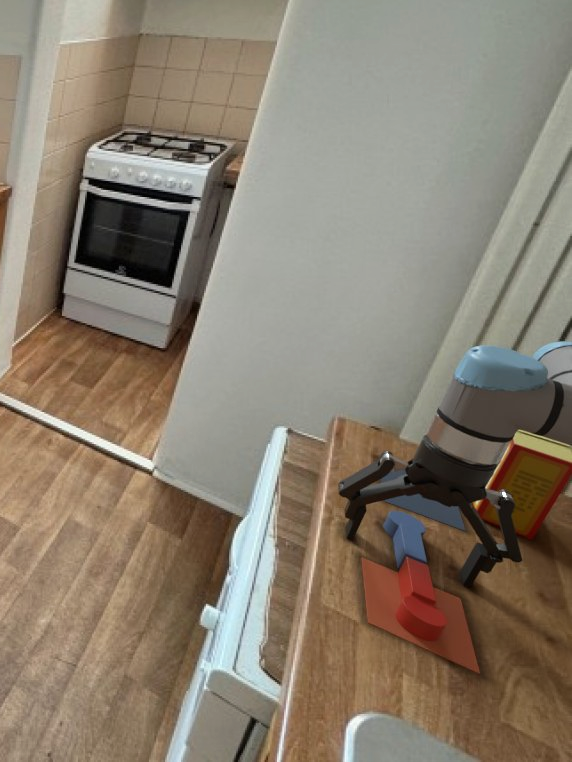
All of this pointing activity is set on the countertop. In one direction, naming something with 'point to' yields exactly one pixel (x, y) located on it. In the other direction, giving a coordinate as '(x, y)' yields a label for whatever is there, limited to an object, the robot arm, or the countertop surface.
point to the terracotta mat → (381, 613)
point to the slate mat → (426, 506)
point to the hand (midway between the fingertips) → (403, 557)
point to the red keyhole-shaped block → (419, 602)
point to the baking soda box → (529, 480)
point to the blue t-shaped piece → (406, 536)
